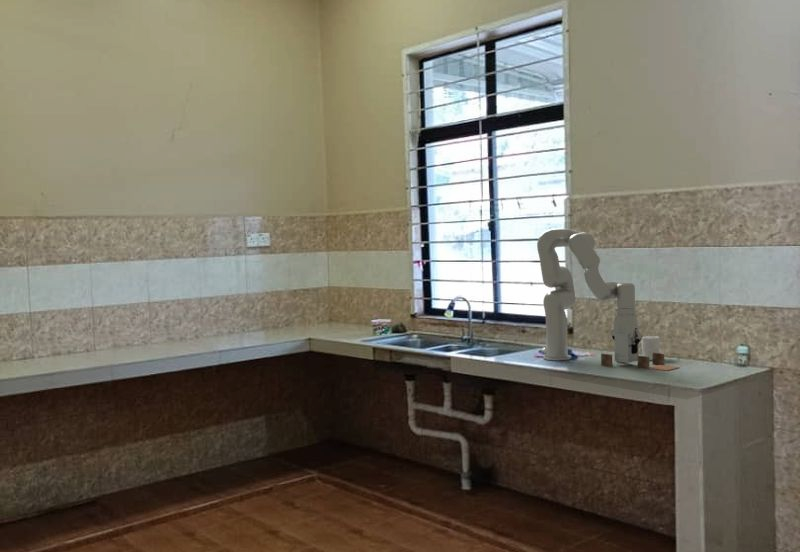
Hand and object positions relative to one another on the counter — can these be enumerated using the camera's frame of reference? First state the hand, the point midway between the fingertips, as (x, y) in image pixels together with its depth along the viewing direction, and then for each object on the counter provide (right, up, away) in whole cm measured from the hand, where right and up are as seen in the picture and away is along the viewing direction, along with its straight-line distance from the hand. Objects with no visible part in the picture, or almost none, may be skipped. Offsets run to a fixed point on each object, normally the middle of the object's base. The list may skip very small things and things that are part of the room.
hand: (626, 352), depth 328 cm
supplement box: (0, -4, 0) cm, 4 cm away
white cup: (+15, -5, +13) cm, 20 cm away
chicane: (+3, -6, 0) cm, 6 cm away
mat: (+13, -6, -9) cm, 17 cm away
